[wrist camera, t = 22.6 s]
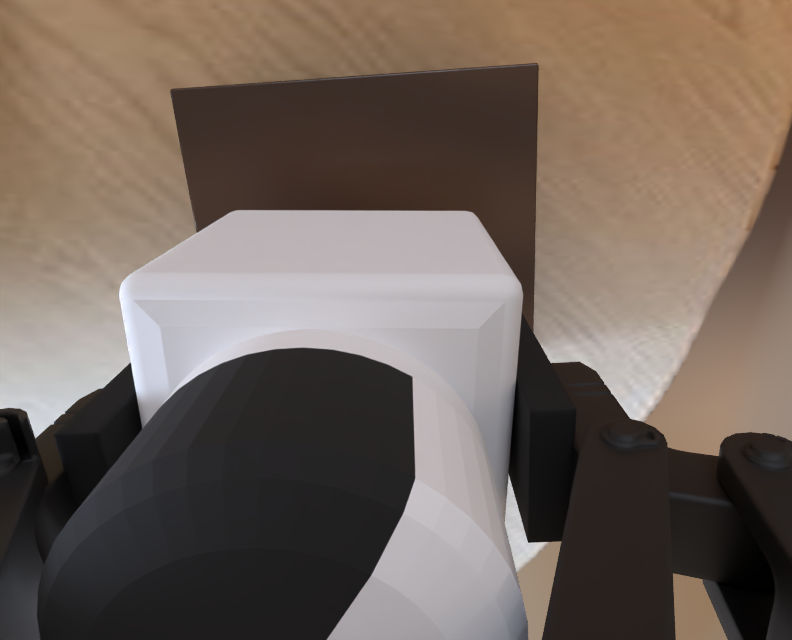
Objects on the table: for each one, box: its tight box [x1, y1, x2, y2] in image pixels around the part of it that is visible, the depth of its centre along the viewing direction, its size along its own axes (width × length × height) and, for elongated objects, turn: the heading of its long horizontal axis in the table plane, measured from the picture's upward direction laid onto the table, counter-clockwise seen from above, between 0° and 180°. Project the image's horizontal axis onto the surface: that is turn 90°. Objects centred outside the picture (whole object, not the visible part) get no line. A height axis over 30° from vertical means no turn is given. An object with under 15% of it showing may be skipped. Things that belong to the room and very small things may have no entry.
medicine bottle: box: [37, 210, 528, 640], centre depth 12 cm, size 7×7×12 cm
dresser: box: [170, 63, 539, 331], centre depth 29 cm, size 15×14×10 cm
